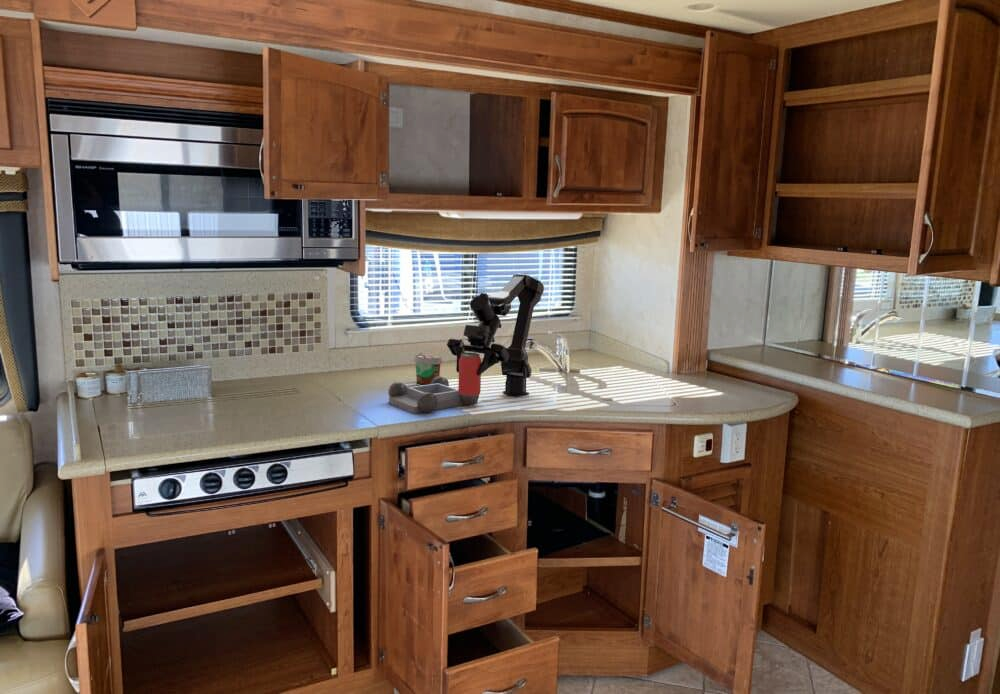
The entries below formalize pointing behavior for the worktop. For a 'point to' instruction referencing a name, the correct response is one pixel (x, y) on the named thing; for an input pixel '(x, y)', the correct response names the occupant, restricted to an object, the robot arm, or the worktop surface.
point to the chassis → (428, 396)
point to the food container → (426, 368)
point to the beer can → (469, 374)
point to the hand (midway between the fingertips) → (467, 373)
